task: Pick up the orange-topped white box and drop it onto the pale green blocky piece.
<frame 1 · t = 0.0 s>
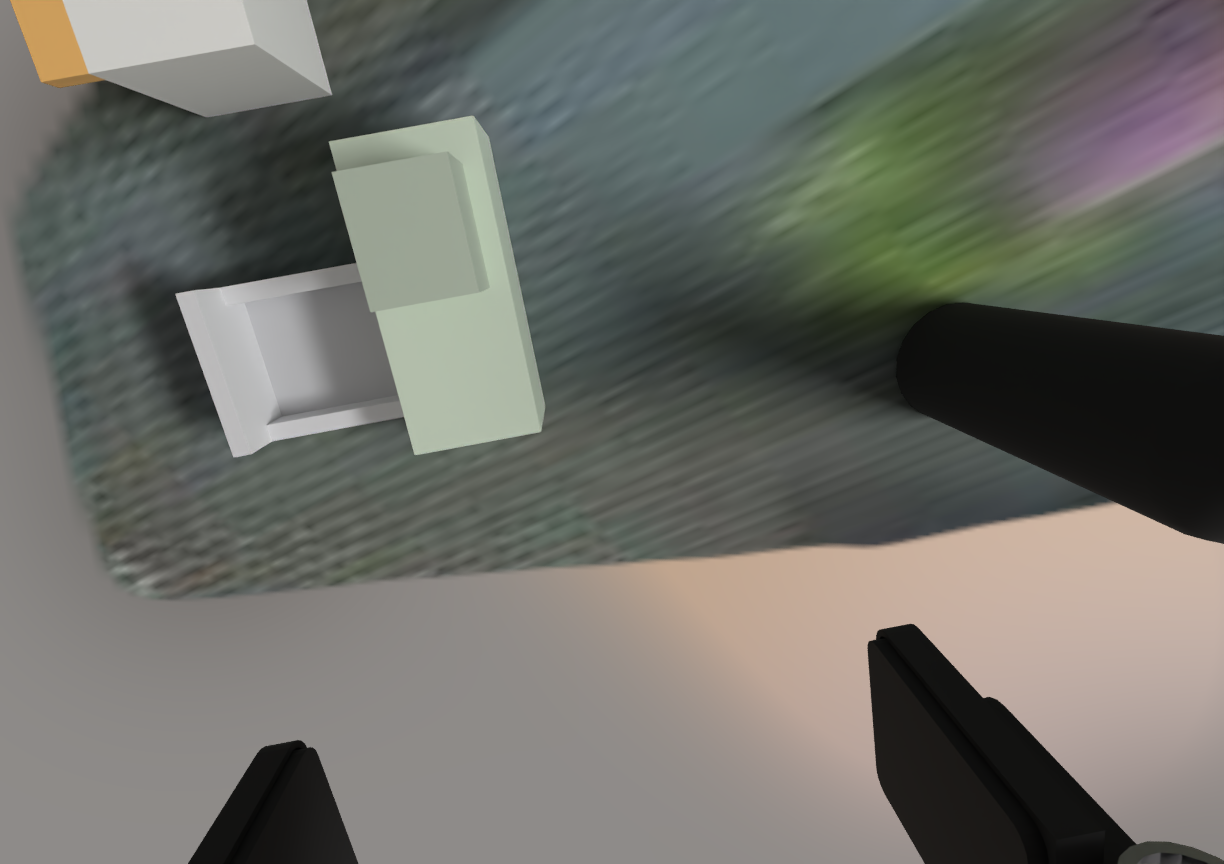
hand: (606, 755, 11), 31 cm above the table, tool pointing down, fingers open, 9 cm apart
orange-topped white box: (254, 56, 35), on the table
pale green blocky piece: (395, 301, 39), on the table
wine bottle: (951, 361, 42), on the table
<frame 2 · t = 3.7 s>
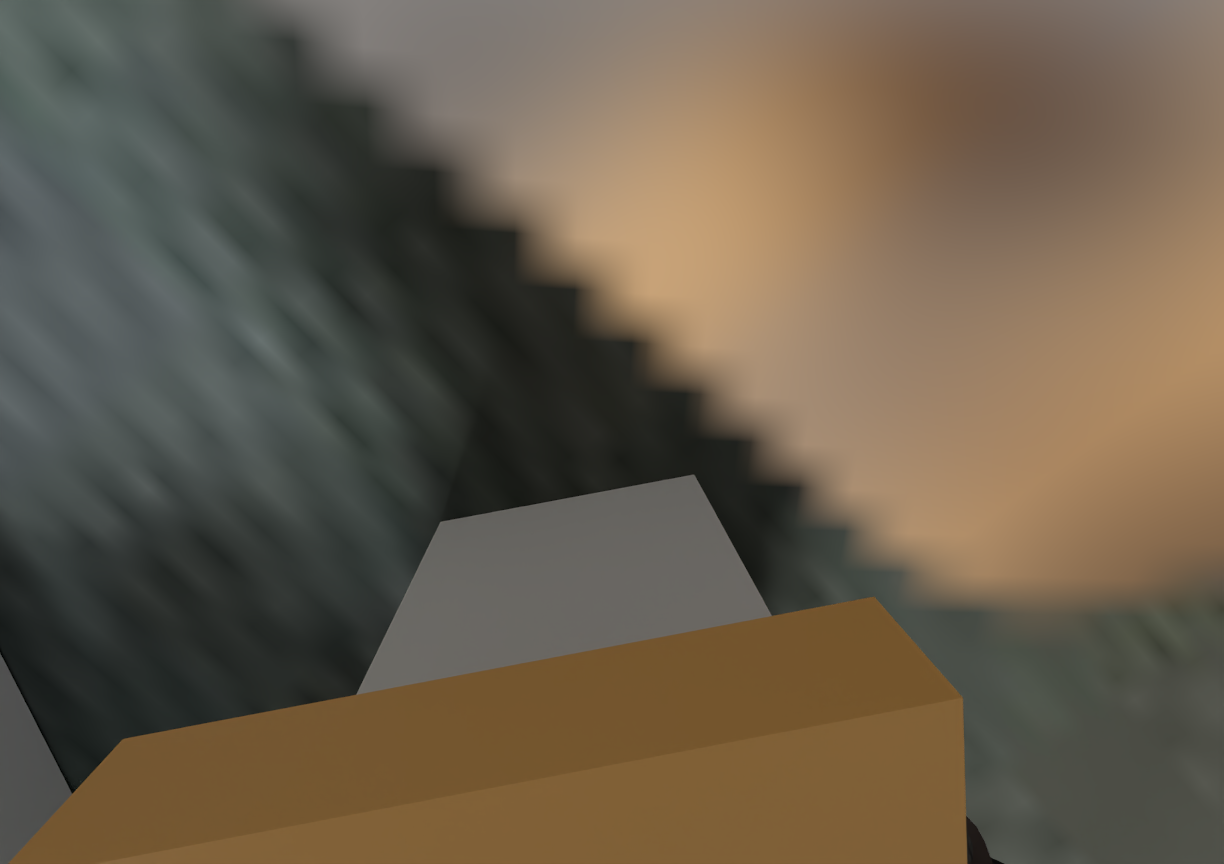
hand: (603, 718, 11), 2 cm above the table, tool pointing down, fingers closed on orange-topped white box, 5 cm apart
orange-topped white box: (599, 651, 13), on the table, touching gripper
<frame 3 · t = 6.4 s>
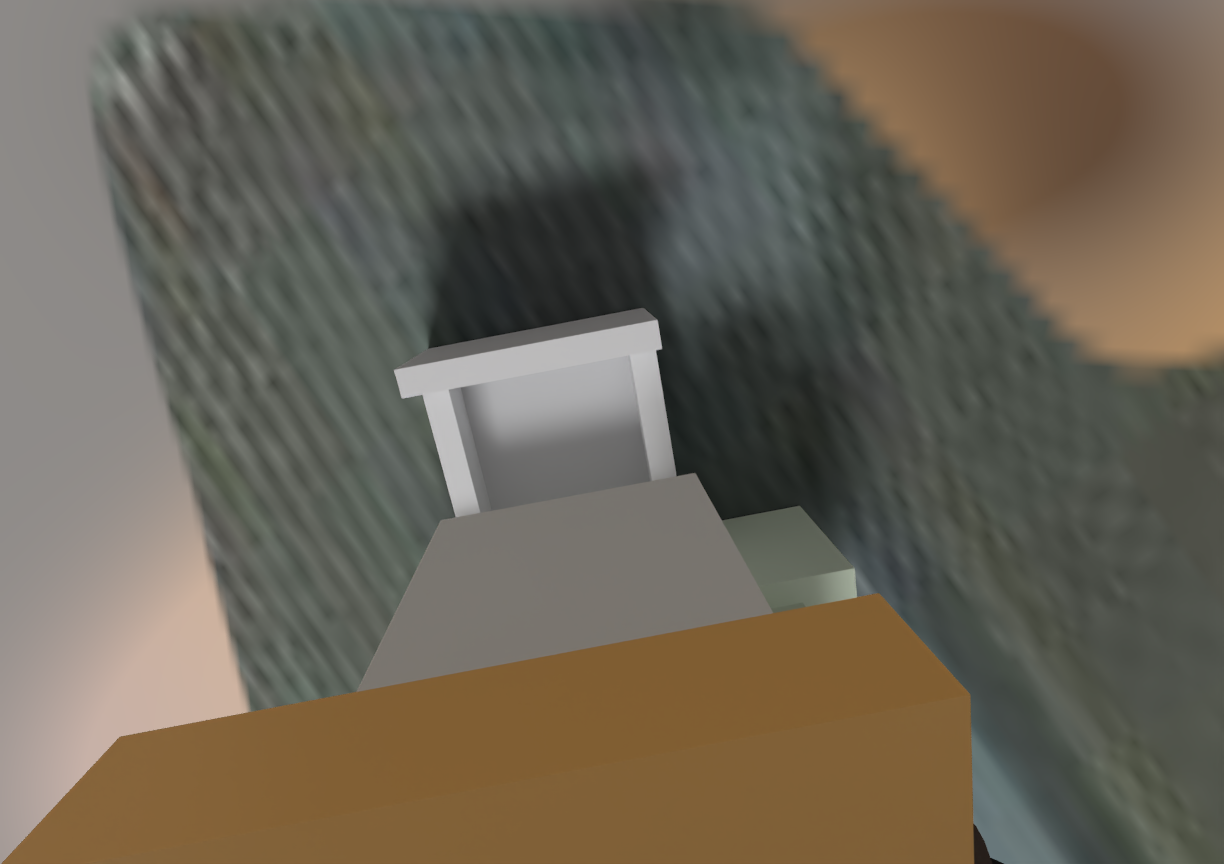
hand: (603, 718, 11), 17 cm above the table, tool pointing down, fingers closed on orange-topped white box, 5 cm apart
orange-topped white box: (600, 650, 13), point 15 cm above the table, touching gripper
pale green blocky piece: (624, 528, 29), on the table
when the fingers open (4 cm above the table, at t = 9.4 s): orange-topped white box drops 1 cm, resting on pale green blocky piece.
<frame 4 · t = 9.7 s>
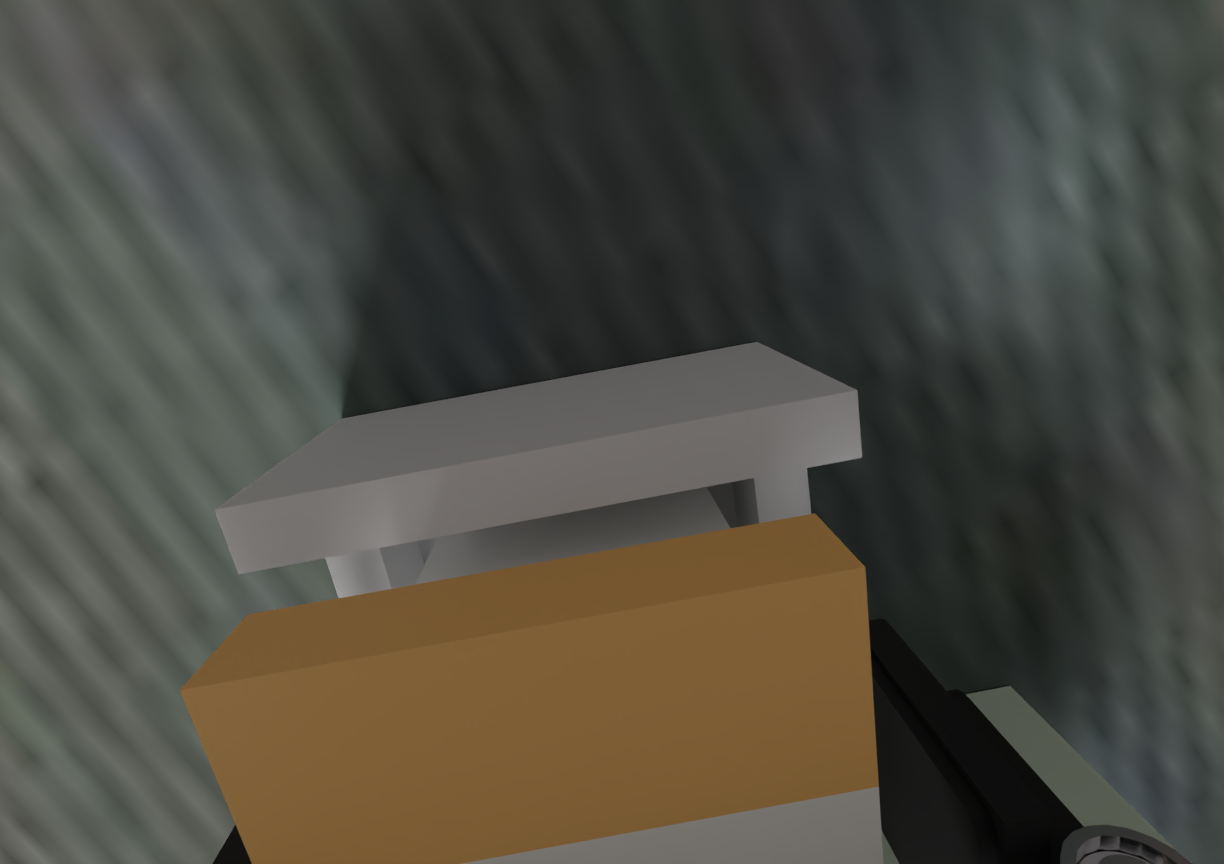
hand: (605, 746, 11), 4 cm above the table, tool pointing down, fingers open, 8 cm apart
orange-topped white box: (600, 614, 15), resting on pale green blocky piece
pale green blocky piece: (701, 728, 16), on the table
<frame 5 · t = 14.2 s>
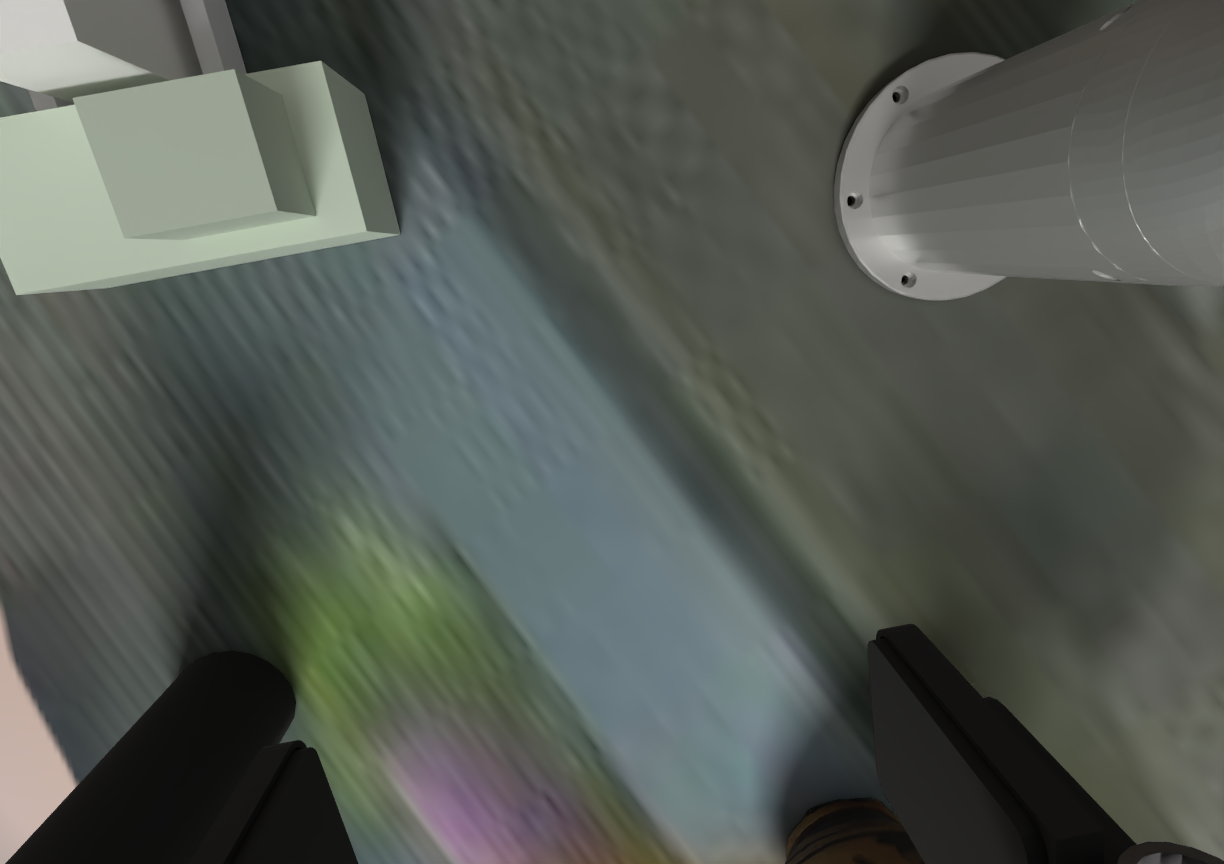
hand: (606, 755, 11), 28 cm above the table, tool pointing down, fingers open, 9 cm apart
orange-topped white box: (135, 27, 31), resting on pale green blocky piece
ceramic jug: (844, 854, 49), on the table
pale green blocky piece: (207, 111, 33), on the table
wine bottle: (237, 699, 42), on the table
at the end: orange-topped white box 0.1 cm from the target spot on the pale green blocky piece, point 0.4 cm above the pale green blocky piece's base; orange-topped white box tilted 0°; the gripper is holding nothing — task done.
